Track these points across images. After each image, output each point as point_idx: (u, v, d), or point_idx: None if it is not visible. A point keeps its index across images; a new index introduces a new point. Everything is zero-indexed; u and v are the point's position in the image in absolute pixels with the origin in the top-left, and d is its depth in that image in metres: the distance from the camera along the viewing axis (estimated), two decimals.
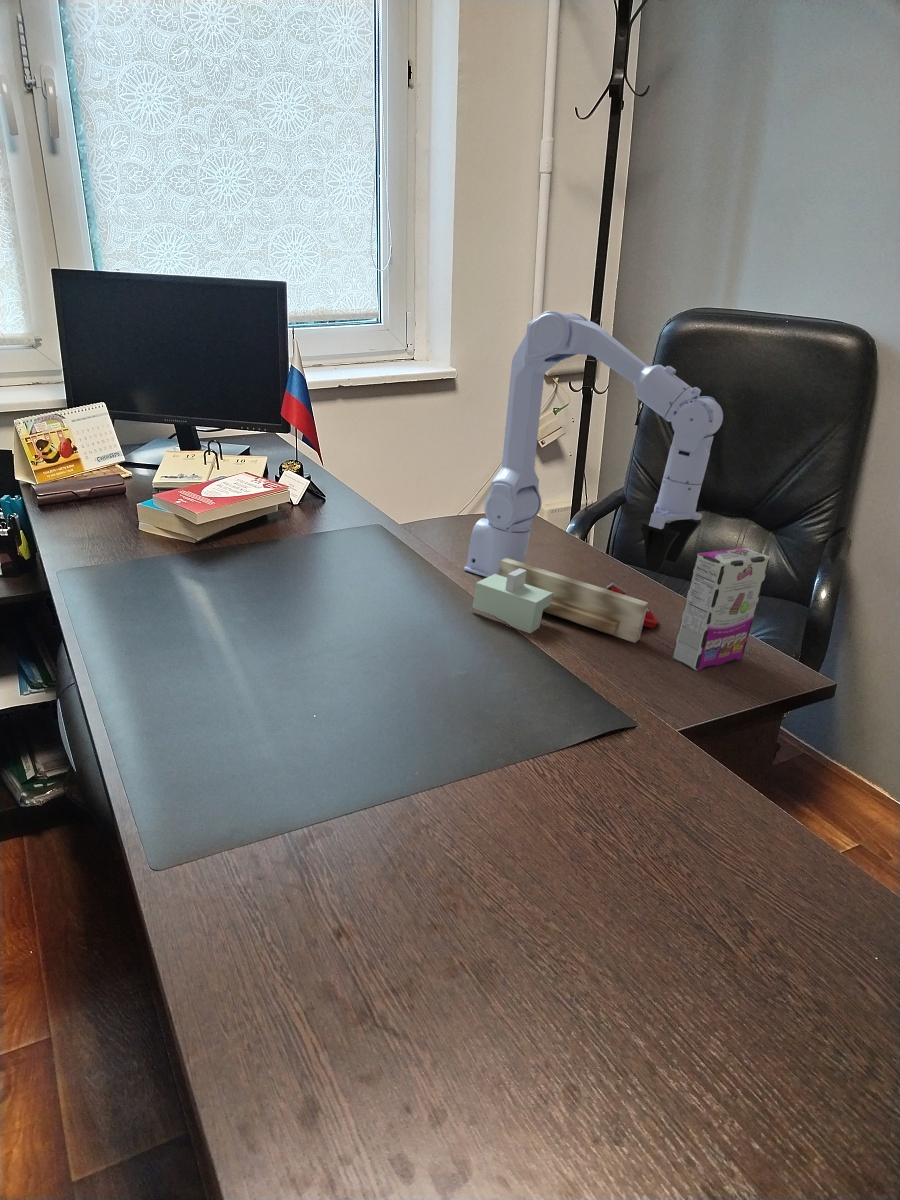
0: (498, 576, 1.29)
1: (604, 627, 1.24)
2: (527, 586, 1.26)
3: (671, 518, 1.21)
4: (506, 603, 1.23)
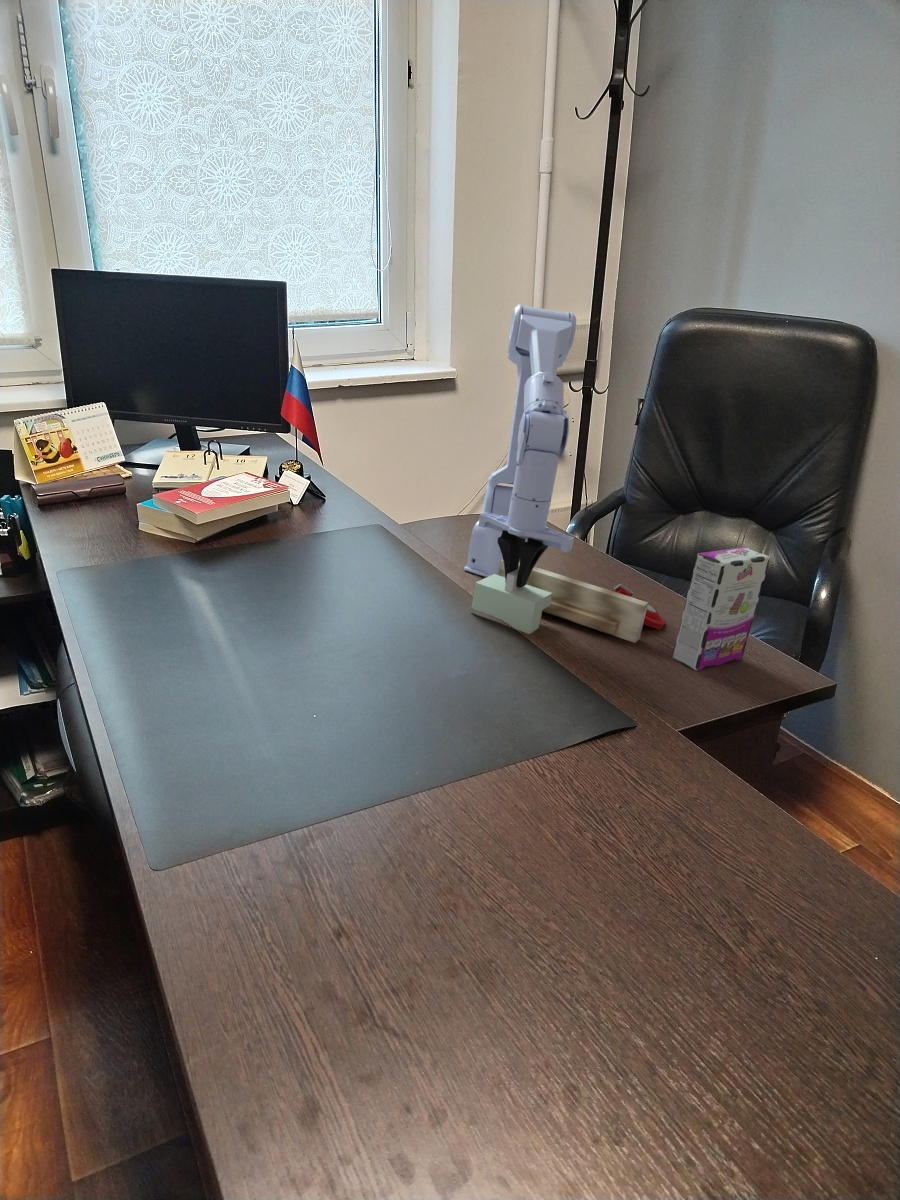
0: (497, 576, 1.29)
1: (604, 627, 1.24)
2: (526, 586, 1.26)
3: (490, 520, 1.23)
4: (505, 603, 1.23)
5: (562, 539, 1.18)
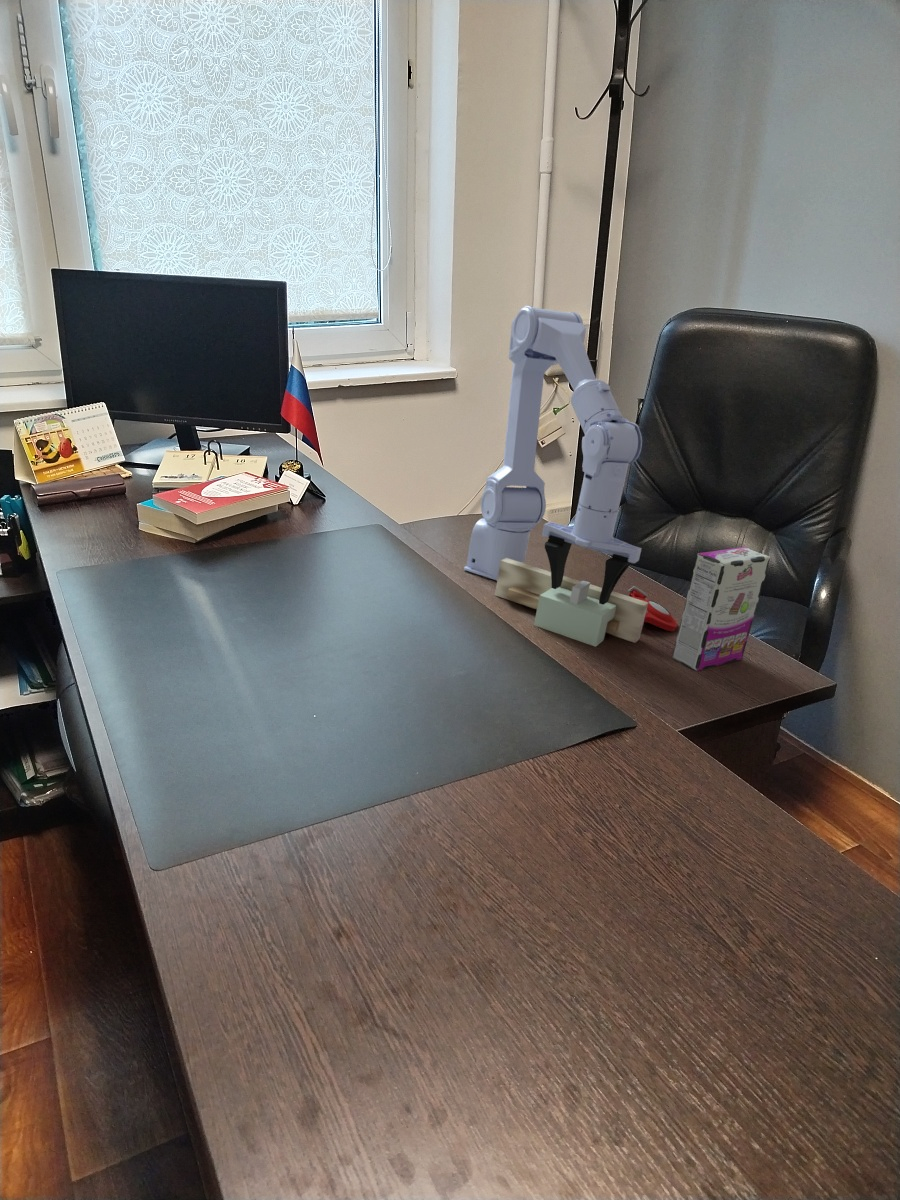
0: (560, 588, 1.28)
1: None
2: (590, 598, 1.25)
3: (555, 531, 1.22)
4: (571, 616, 1.22)
5: (630, 550, 1.17)
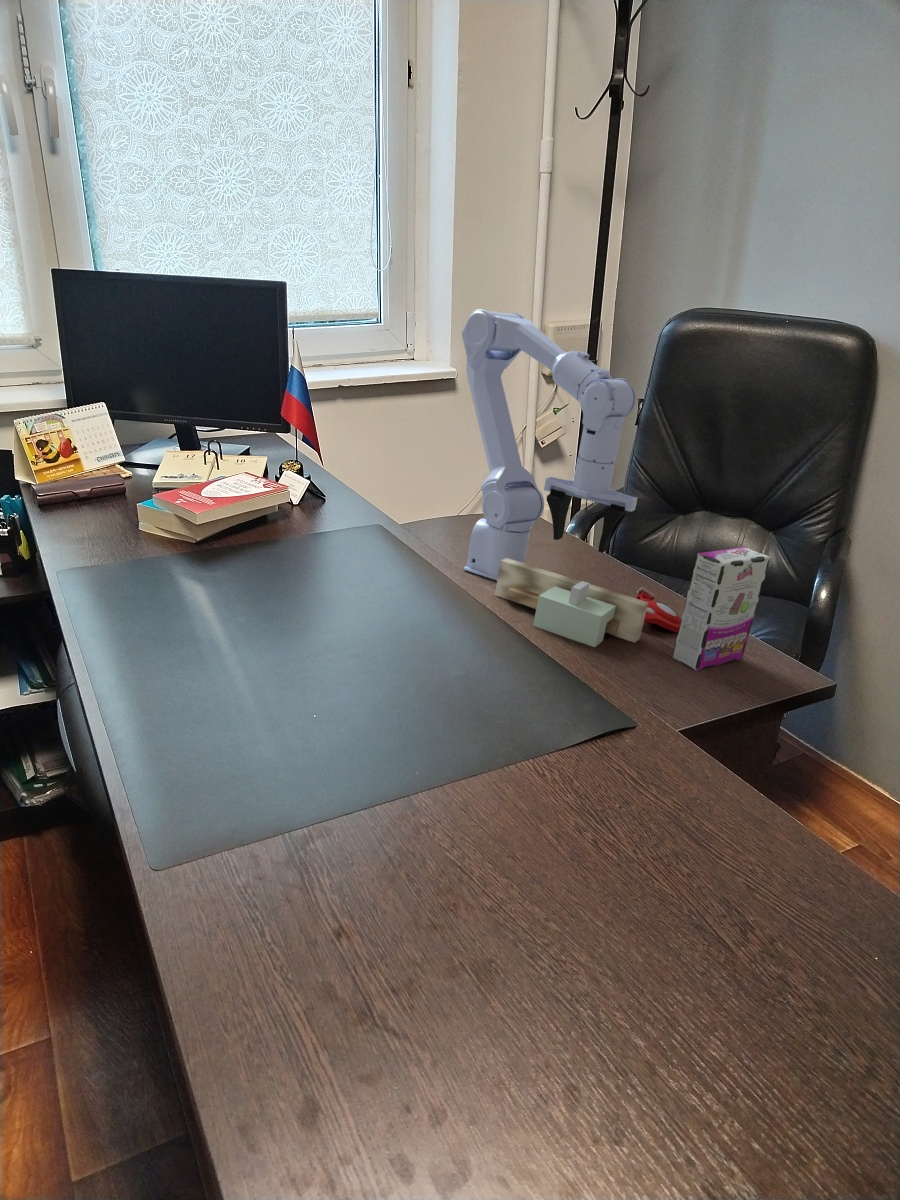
0: (559, 589, 1.27)
1: None
2: (589, 599, 1.25)
3: (556, 484, 1.30)
4: (570, 616, 1.22)
5: (627, 499, 1.25)
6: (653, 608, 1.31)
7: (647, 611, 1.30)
